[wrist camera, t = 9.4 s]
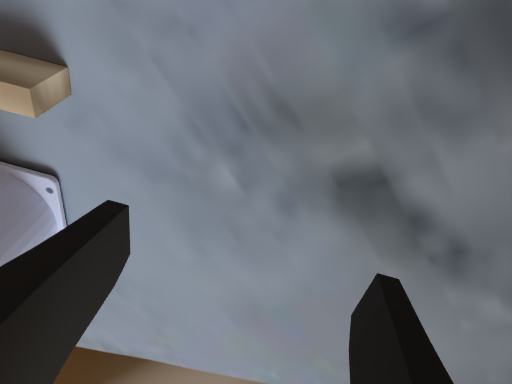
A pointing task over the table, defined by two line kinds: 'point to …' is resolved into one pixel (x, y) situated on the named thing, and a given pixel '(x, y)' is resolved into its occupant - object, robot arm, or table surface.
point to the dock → (31, 84)
